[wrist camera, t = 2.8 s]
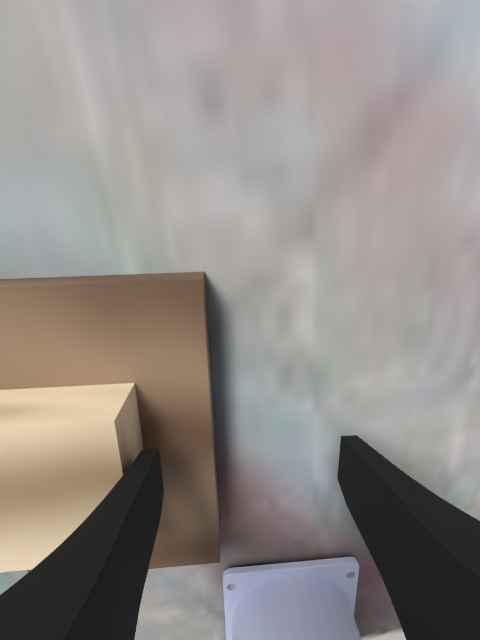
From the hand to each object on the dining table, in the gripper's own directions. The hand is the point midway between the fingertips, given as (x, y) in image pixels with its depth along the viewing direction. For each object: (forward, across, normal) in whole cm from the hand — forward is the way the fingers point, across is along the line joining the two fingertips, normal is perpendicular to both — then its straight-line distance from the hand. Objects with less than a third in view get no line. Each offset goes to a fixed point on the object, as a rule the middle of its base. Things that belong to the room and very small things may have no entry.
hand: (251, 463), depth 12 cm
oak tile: (+1, +7, 0) cm, 8 cm away
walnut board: (+3, +6, 0) cm, 7 cm away
